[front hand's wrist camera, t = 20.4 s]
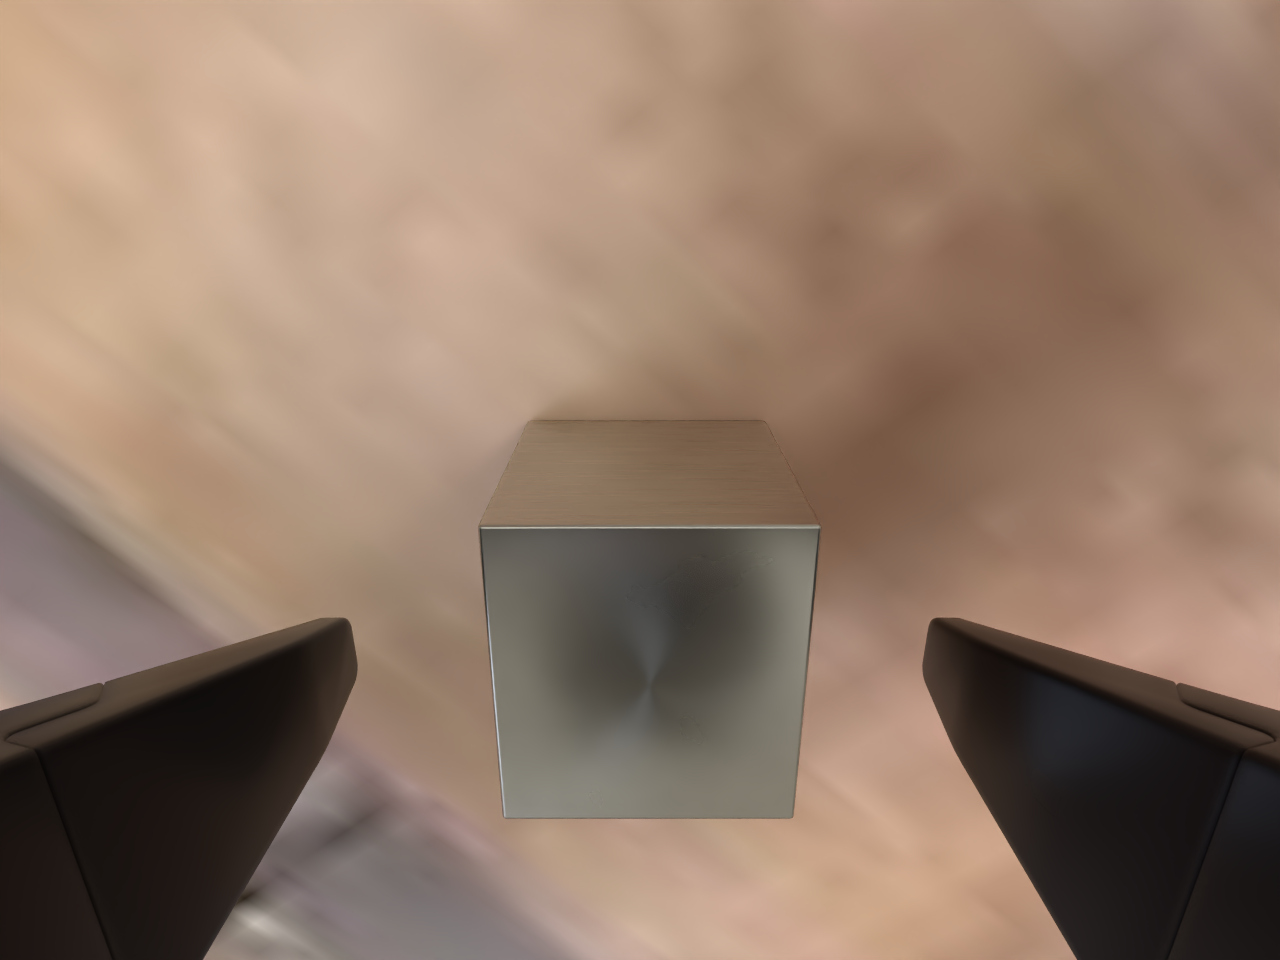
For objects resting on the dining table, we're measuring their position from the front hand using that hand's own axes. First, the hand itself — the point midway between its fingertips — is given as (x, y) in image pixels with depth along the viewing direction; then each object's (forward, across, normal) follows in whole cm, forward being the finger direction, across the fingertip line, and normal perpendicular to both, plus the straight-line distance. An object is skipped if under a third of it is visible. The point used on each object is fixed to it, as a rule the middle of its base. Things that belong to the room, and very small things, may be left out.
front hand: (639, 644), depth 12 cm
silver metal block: (+4, 0, 0) cm, 4 cm away
